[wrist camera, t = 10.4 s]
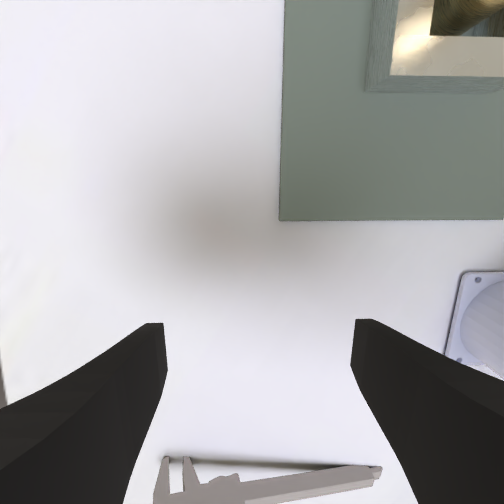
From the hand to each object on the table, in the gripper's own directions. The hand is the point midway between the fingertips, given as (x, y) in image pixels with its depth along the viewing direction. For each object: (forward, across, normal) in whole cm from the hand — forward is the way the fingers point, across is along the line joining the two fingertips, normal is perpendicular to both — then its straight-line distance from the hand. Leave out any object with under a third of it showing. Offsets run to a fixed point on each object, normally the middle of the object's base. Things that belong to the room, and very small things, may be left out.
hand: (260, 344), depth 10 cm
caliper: (+11, -2, +20) cm, 23 cm away
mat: (+10, -10, -12) cm, 19 cm away
